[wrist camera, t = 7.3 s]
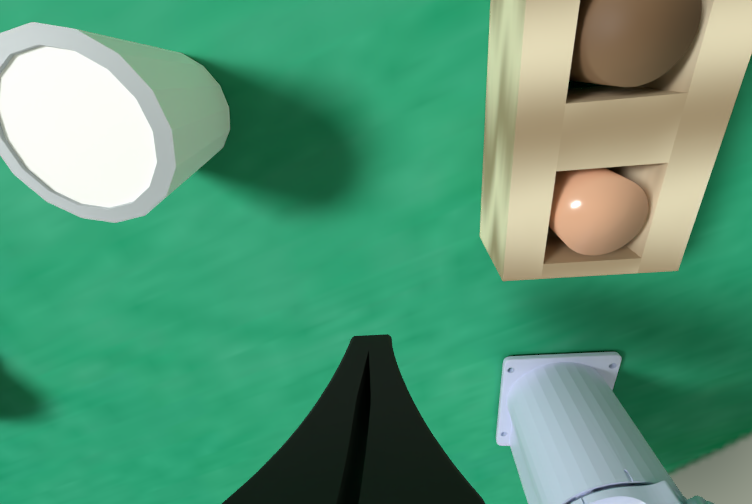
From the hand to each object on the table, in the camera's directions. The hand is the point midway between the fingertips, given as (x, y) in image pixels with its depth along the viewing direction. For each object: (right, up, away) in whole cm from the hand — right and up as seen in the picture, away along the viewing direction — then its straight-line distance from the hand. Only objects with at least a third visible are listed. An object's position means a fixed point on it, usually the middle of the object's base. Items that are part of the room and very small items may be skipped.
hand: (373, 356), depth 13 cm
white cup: (-10, +11, +6) cm, 16 cm away
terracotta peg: (+10, +7, +7) cm, 14 cm away
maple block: (+10, +11, +6) cm, 15 cm away
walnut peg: (+9, +14, +4) cm, 17 cm away
